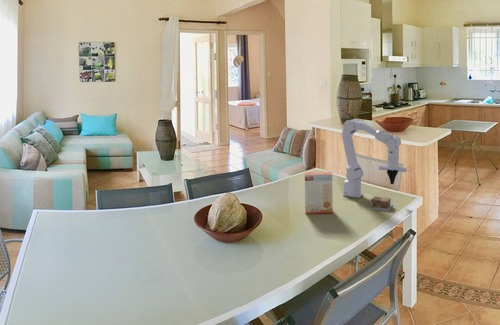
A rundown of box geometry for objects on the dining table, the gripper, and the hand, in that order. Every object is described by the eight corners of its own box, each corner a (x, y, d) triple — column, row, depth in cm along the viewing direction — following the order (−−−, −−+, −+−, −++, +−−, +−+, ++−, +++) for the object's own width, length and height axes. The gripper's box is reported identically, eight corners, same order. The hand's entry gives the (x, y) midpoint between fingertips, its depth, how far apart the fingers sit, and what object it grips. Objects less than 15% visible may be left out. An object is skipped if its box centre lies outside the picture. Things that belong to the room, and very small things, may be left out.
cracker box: (331, 209, 228) (331, 171, 224) (332, 213, 222) (332, 174, 218) (304, 210, 230) (304, 171, 225) (305, 213, 224) (304, 174, 219)
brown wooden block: (371, 199, 229) (387, 201, 224) (374, 196, 234) (390, 198, 229) (371, 206, 230) (387, 208, 225) (374, 203, 235) (390, 205, 230)
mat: (370, 209, 227) (370, 208, 227) (376, 202, 237) (376, 202, 237) (388, 211, 222) (388, 210, 222) (393, 204, 232) (393, 204, 232)
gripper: (377, 159, 232) (376, 184, 235) (405, 161, 224) (404, 186, 227) (380, 157, 238) (380, 180, 241) (408, 158, 230) (407, 183, 233)
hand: (392, 183), depth 234 cm, fingers closed
